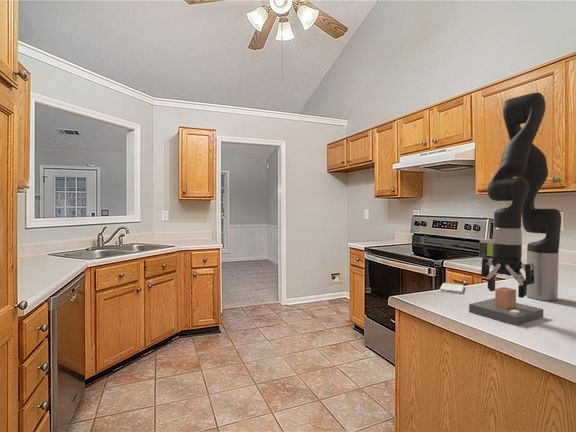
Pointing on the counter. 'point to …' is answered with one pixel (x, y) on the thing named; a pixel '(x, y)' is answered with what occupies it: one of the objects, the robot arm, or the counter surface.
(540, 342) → the counter surface
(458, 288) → the hard drive
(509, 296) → the plug
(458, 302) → the counter surface
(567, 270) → the counter surface
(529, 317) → the socket board
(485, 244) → the tea box
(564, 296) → the counter surface
